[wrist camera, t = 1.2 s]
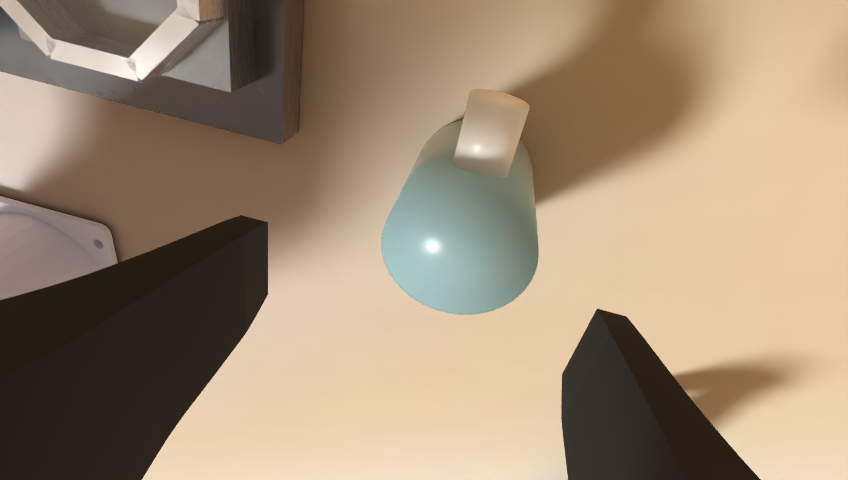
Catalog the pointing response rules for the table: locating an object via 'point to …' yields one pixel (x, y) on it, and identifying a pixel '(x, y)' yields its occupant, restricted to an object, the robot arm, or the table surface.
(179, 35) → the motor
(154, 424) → the robot arm
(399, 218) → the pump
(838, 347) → the table surface
